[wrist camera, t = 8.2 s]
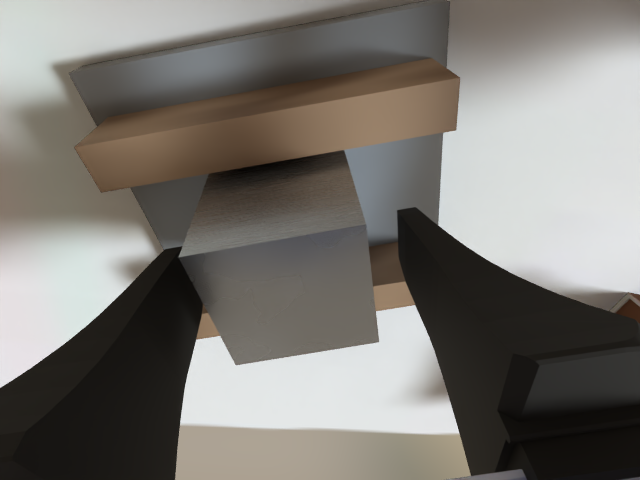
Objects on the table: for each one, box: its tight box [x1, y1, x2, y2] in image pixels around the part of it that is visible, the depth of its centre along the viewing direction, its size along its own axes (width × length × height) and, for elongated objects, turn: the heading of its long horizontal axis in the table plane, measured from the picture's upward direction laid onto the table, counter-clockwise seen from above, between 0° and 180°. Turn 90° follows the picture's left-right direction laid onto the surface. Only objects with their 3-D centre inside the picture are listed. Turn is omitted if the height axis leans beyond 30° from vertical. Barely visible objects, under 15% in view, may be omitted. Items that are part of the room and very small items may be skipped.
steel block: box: [179, 150, 379, 365], centre depth 12 cm, size 4×4×6 cm
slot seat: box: [69, 0, 460, 339], centre depth 14 cm, size 12×12×4 cm
